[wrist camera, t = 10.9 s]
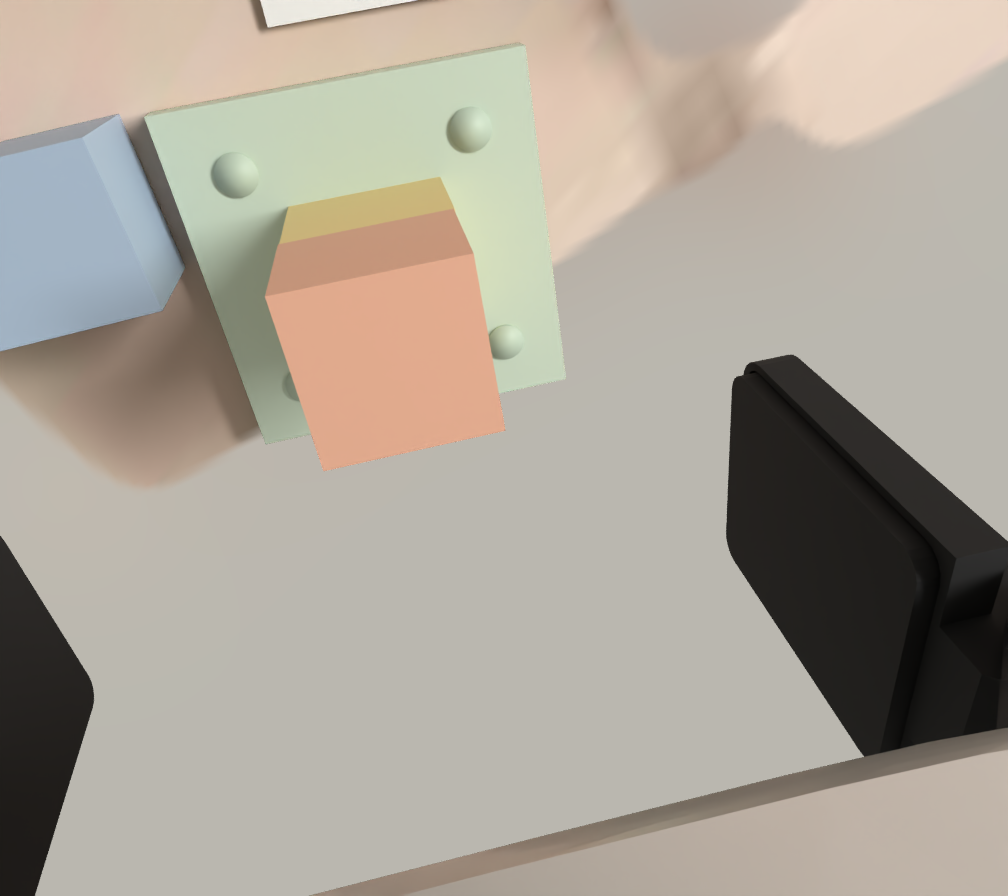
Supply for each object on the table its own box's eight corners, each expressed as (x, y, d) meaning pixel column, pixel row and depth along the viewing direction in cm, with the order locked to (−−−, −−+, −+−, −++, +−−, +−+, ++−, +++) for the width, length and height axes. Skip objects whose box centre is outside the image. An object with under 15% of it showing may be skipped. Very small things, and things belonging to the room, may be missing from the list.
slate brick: (-42, 151, 29) (-108, 182, 25) (119, 113, 29) (82, 137, 25) (41, 302, 32) (-5, 352, 28) (185, 266, 32) (162, 310, 28)
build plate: (150, 111, 29) (143, 117, 28) (518, 42, 30) (526, 45, 29) (267, 431, 37) (265, 446, 36) (560, 367, 38) (566, 380, 36)
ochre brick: (288, 206, 31) (278, 244, 26) (440, 176, 31) (454, 209, 27) (329, 346, 34) (327, 399, 30) (466, 317, 34) (483, 366, 30)
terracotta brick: (277, 244, 26) (264, 296, 22) (453, 208, 27) (473, 253, 23) (326, 399, 30) (323, 471, 25) (482, 365, 30) (505, 430, 26)
